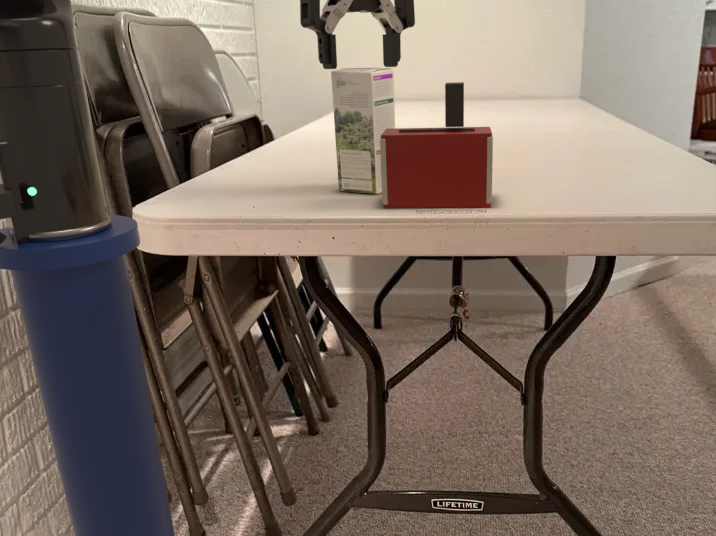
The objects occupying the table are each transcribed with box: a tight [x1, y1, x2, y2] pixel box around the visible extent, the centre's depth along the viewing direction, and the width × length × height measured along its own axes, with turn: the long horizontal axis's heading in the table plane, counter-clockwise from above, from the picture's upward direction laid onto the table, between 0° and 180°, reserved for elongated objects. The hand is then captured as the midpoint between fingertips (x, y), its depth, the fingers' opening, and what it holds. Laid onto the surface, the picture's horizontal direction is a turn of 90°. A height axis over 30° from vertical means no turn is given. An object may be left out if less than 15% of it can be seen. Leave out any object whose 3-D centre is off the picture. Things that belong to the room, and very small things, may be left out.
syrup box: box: [330, 67, 396, 195], centre depth 88 cm, size 6×6×14 cm
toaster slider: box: [444, 81, 465, 128], centre depth 79 cm, size 2×2×4 cm
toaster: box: [380, 126, 494, 209], centre depth 81 cm, size 12×6×8 cm, turn 86°
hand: (361, 67), depth 86 cm, fingers open, 8 cm apart
